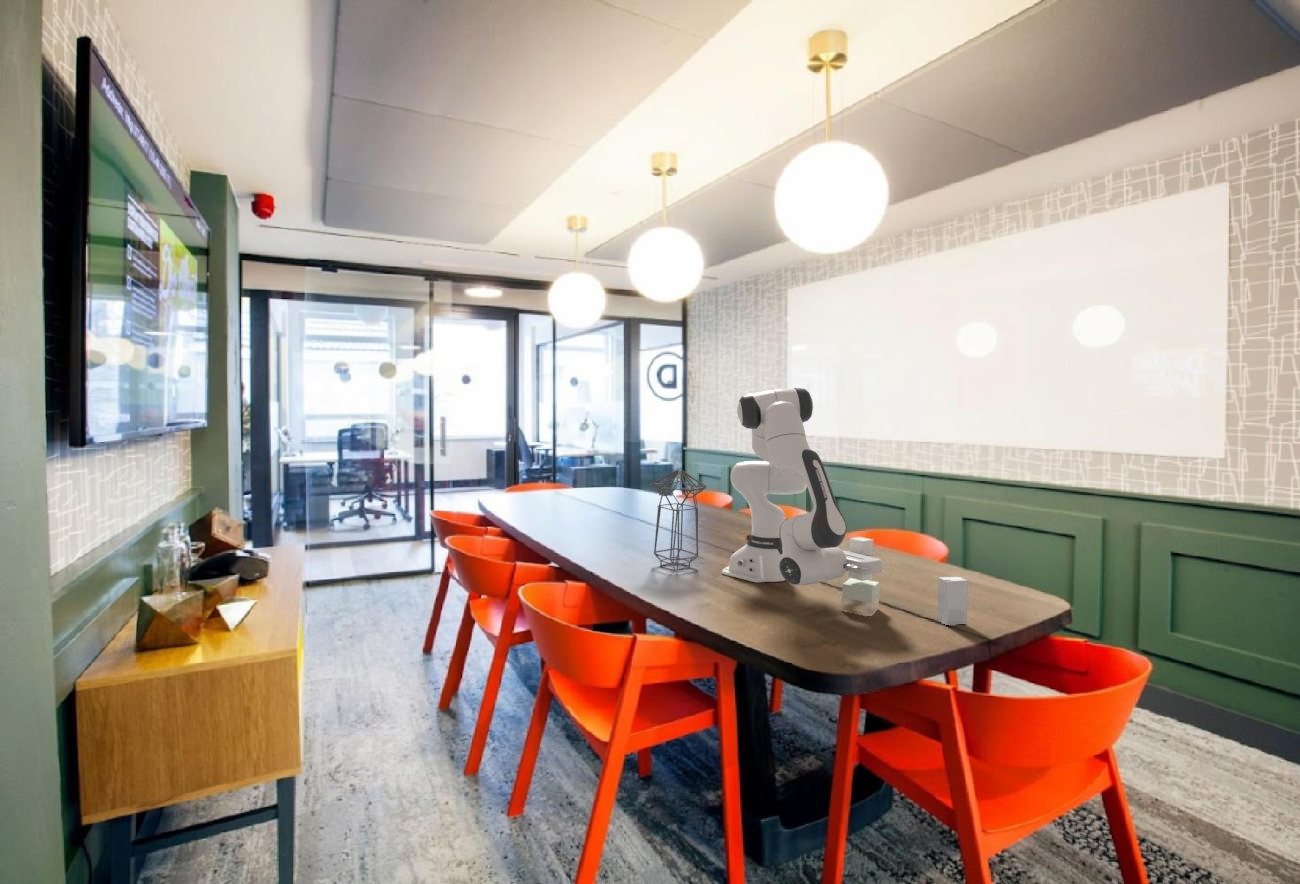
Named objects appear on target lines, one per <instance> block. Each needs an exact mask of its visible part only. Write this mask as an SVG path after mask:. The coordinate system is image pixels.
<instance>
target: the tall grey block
mask: <svg viewBox="0 0 1300 884" xmlns="http://www.w3.org/2000/svg"><path fill="white" fill-rule="evenodd" d="M848 542H849V549H848V551H849V552H853V553H857V554H861V555H872V556H874V539H873V538H872V539H871V538H868V537H867V538H866V537H863V536H856V537H851V538H849V541H848ZM848 578H849V579H850V578H853V579H857V580H861V581H864V580H872V579H873V574H870V575H860V574H856V573H852V572H848Z"/></svg>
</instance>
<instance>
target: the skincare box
mask: <svg viewBox="0 0 1300 884" xmlns="http://www.w3.org/2000/svg"><path fill="white" fill-rule="evenodd" d="M968 586H969V580H967V579H965V578H963V577H960V576H940V577H938V582H937V618H936V619H937V622H939V623H940V622H941V623H940V624H941V625H943V624H945V625H944V626H946V625H949V626H954V625H953V624H967V623H968V620H967V619H968V597H969V596H968V593H969V592H968V589H969V587H968ZM967 625H968V624H967Z"/></svg>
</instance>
